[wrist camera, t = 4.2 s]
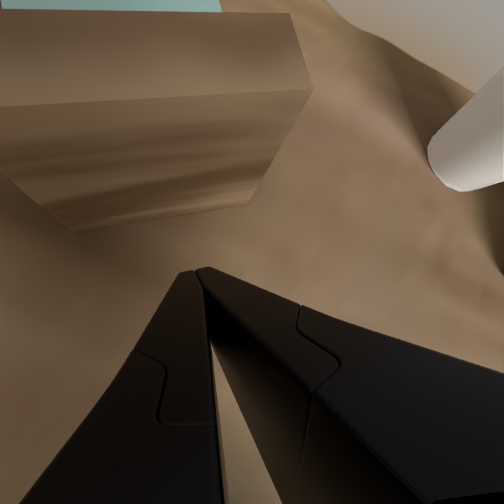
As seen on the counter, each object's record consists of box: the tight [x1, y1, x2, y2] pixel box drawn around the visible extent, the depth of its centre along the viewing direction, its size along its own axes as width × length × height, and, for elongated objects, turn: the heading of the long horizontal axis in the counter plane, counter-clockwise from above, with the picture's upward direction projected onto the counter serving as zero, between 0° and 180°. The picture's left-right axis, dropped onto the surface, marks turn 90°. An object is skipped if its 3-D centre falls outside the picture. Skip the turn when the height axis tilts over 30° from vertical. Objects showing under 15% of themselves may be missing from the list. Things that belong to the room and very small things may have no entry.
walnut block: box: [0, 9, 313, 233], centre depth 16 cm, size 4×12×12 cm, turn 104°
